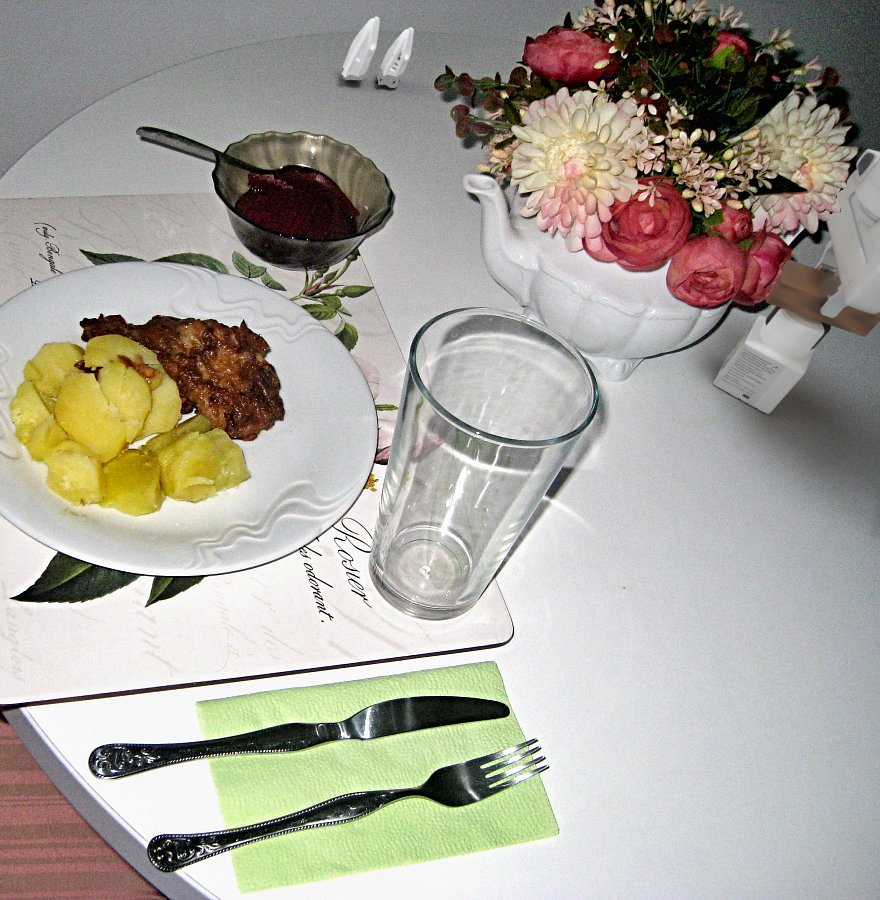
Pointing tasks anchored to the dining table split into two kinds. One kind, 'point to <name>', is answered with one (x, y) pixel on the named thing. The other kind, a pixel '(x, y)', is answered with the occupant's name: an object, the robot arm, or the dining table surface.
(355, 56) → the shaker set
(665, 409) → the dining table surface
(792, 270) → the wooden brick
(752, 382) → the container
